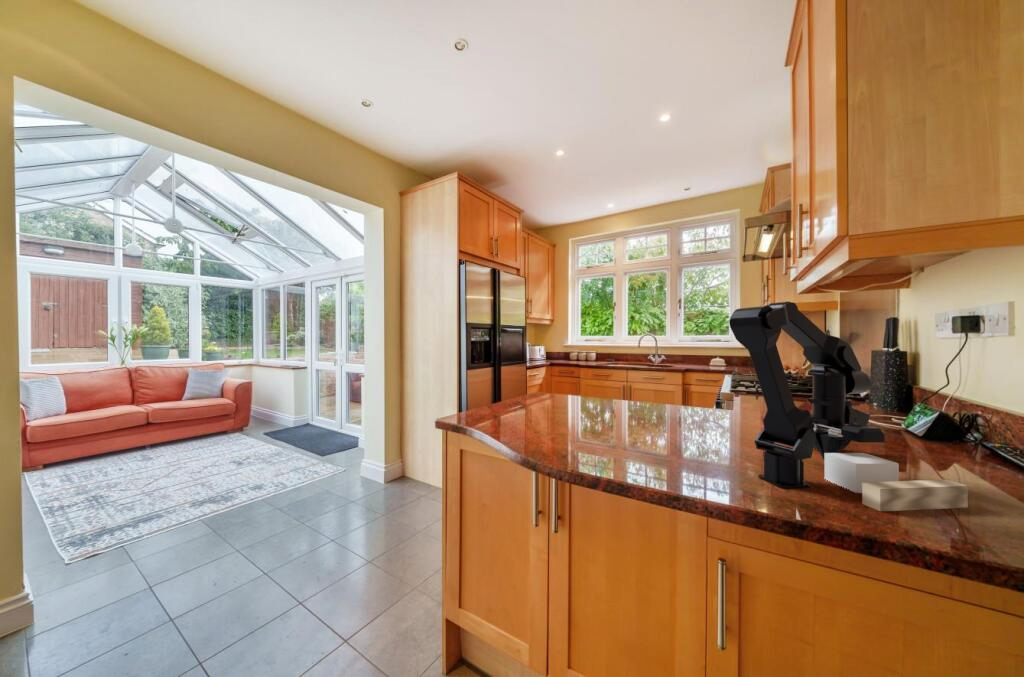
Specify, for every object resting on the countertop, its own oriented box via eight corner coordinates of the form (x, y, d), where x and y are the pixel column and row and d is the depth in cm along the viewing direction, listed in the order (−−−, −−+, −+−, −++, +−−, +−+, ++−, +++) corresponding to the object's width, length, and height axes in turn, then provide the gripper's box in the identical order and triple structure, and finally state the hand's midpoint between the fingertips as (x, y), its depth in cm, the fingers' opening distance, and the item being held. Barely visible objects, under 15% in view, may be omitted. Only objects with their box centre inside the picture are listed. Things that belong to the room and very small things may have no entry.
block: (856, 493, 72) (855, 463, 73) (824, 480, 79) (824, 453, 80) (898, 493, 73) (898, 463, 73) (863, 479, 80) (863, 452, 80)
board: (880, 511, 64) (880, 488, 64) (862, 503, 67) (862, 482, 67) (967, 507, 66) (967, 485, 66) (946, 500, 69) (946, 479, 69)
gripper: (907, 401, 75) (908, 477, 74) (821, 389, 93) (821, 450, 93) (860, 402, 73) (860, 478, 73) (781, 390, 92) (782, 451, 92)
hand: (828, 463), depth 83 cm, fingers closed
